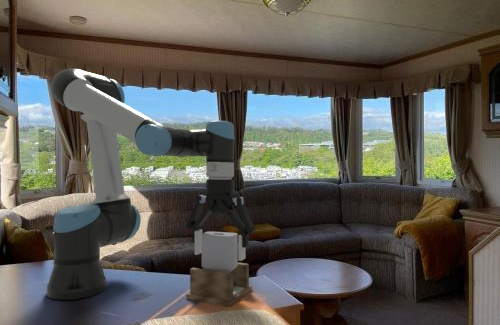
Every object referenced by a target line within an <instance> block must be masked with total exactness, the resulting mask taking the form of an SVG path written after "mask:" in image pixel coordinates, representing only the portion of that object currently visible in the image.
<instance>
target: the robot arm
mask: <svg viewBox="0 0 500 325" xmlns="http://www.w3.org/2000/svg"><path fill="white" fill-rule="evenodd" d="M50 92H51V95H52V96H53V98H54V100H56V102H58V103H59V104H60V105H61V106H63V107H65V108H67V109H68V110H71V111H72V112H79V114H80V119H81V120H82V121H84V122H85V123H86V128H87V134H88V135H87V136H88V143H89V144H88V145H89V153H90V160H91V161H90V162H91V168H92V177H93V185H94V191H95V192H94V193H95V199H93V201H92V202H91V204H80V205H72V206H68V207H66V208H62V209H59V211H57V212H56V213H55V215H54V221H53V222H54V223H53V226H52V228H53V268H52V271H51V274H50V277H49V281H48V284H47V285H46V296H47V297H48V298H49V299H52V300H57V301H58V300H59V301H69V300H78V299H83V298H88V297H92V296H96V295H98V294H100V293H102V292H104V291H105V290H106V289H107V277H106V275H105V271H104V269H103V266H102V263H101V258H100V256H101V253H100V252H101V250H100V248H103V247H107V246H111V245H115V244H119V243H123V242H125V241H128V240H130V239H132V238H133V237H135V236H136V234H137V233H138V231H139V230H140V227H141V223H142V222H141V221H142V219H141V213H140V211H139V208H137V207H136V206H135V205H134V204H132V200H131V197H130V196H129V195H127V194H126V193H125V187H124V186H125V185H124V177H123V172H122V170H123V169H122V162H121V155H120V147H119V146H120V145H119V140H118V134H119V135H121V136H122V137H124V138H126V139H128V140H129V141H131V142H132V143H134V144H135V145H136V147H137V149H138V150H139V152H140V153H141V154H144V155H147V156H152V157H178V158H181V157H182V158H186V157H188V158H189V157H206V158H205V159H206V160H205V162H206V167H205V168H206V169H205V170H206V175H205V176H206V177H207V178H208V179H206V180H205V192H206V195H204V194H199V195H198V194H197V195H196V197H195V204H194V206H193V208H192V211H191V213H190V215H189V218H188V220H187V222H186V224H185V226H186V228H189V229H191V232H192V233H191V234H192V237H191V238H192V242H193V243H194V255H195V256H198V255H200V254H202V234H203V229H201V227H202V226H203V225H204V224H205V222H206V221H207V220H208V218H209V217H210V216H211V214H212V213H215V214H216V213H219V214H226V215H227V217H229V218H230V220H231V222H232V223H233V224H234V226H235V227H236V229H237V230H238V231H239V233H240V234H238V261H239V262H241V261H244V260H246V256H247V255H246V249H247V248H248V247H249V239H250V238H249V235H250V234H253V233H255V232H256V227H255V225H254V222H253V220H252V218H251V216H250V213H249V211H248V209H247V207H246V201H245V197H244V196H240V197H239V196H238V197H235V196H234V191H235V181H234V179H233V178H234V176H235V160H234V159H235V155H234V153H235V127H234V124H233V123H232V122H230V121H228V120H211V121H207V123H206V126H205V128H204V129H186V128H177V127H172V126H166V125H164V124H162V123H160V122H159V121H157V120H155V119H154V118H151V117H149V116H147V115H145V114H143V113H142V112H140V111H138V110H136V109H134V108H132V107H131V106H129V105H127V104H125V102H126V100H125V99H126V98H125V97H126V96H125V91H124V89H123V87H122V86H121V84H120V83H119V82H118V81H117V80H115V79H114V78H113V79H112V78H110V77H108V76H107V75H106V76H105V75H100V74H96V73H92V72H89V71H85V70H82V69H79V68H70V67H69V68H66V69H62V70H60V71H59V72H57V73H56V74H55V75H54V76H53V78H52V80H51V82H50ZM205 203H206V204H207V206H205V208H204V210H203V212H202V213H201V211H202V209H203V207H204V204H205ZM234 204H235V206H236V208H237V210H238V212H239V214H238V213H237V211H236V208H235V207H234V206H233V205H234ZM200 213H201V214H200ZM239 215H240V216H239Z"/></svg>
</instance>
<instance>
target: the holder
mask: <svg viewBox="0 0 500 325" xmlns="http://www.w3.org/2000/svg"><path fill="white" fill-rule="evenodd" d="M249 268H250V264H249V263H245V262H244V263H243V262H238V266H237V267H236V268H235V269H234V270H232V271H231V272H230V273H228V272H221V271H214V270H207V269H204V268H199V267H192V268H190V269H189V284H190V285H189V292H188V293H186V297H185V299H186V300H192V301H196V302H202V303H206V304H213V305H218V306H224V307H228V308H230V307H232V306H233V305H234V304H236V303H238V301H240V300H241V299H242V298H244V297H245V296H247V295H248V294H249V293H250V292H252V291H253V285H250V280H249V279H250V276H249V274H250V273H249V272H250V269H249Z"/></svg>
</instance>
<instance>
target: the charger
mask: <svg viewBox="0 0 500 325" xmlns="http://www.w3.org/2000/svg"><path fill="white" fill-rule="evenodd" d="M238 247H239V234H238V233H236V232H225V231H224V232H223V231H205V232H202V253H201V267H202V269H207V270H214V271H221V272H228V273H230V272H231V271H232V270H234V269H235V268H236V267H237V266H238V263H239V262H238Z"/></svg>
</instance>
